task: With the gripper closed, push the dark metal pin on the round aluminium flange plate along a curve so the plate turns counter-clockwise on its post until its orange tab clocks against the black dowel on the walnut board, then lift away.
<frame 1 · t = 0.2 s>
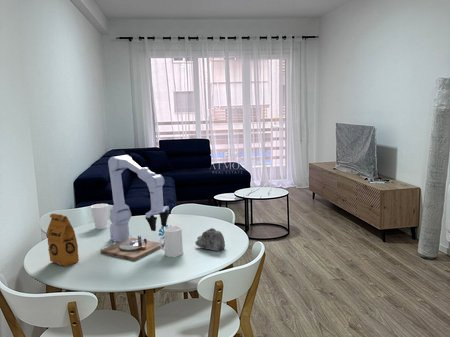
hand: (158, 228, 187), 10 cm above the table, tool pointing down, fingers open, 7 cm apart
base board: (132, 249, 188), on the table
coffee package: (65, 262, 176), on the table
flange: (133, 240, 187), point 5 cm above the table, hinge at 0.0°
mineral rock: (211, 248, 187), on the table
foam cup: (101, 227, 226), on the table
mug: (171, 255, 180), on the table
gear: (169, 241, 199), on the table
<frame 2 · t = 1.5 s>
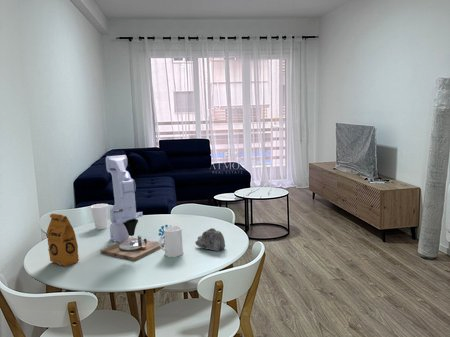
hand: (131, 235, 180), 9 cm above the table, tool pointing down, fingers closed
nothing on the table moved.
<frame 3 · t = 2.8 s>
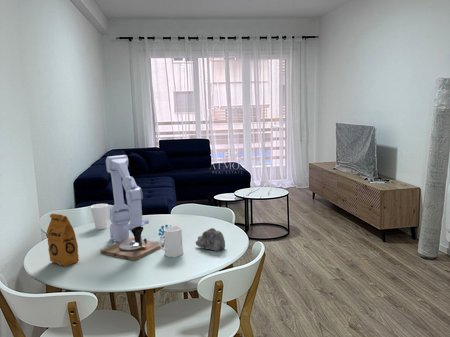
hand: (137, 242, 184), 5 cm above the table, tool pointing down, fingers closed, pressing on flange
flange: (133, 240, 187), point 5 cm above the table, hinge at 2.0°, touching gripper
everything else where it was.
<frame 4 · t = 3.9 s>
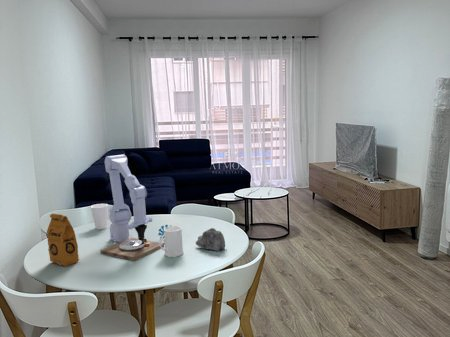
hand: (141, 239, 187), 5 cm above the table, tool pointing down, fingers closed, pressing on flange
flange: (134, 240, 188), point 5 cm above the table, hinge at 37.5°, touching gripper
everything else where it was.
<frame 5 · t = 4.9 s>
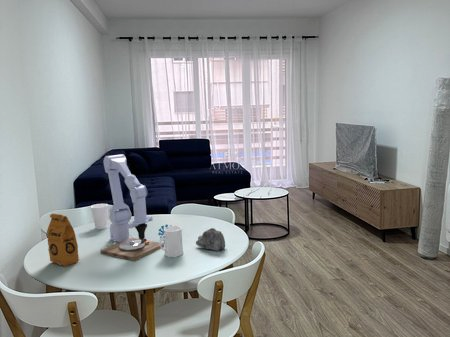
hand: (141, 238, 188), 5 cm above the table, tool pointing down, fingers closed, pressing on flange
flange: (134, 240, 188), point 5 cm above the table, hinge at 57.2°, touching gripper
everything else where it was.
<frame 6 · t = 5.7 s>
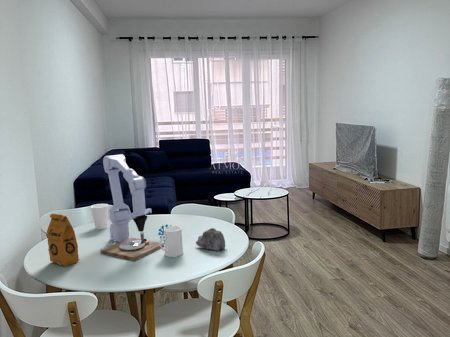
hand: (140, 231, 186), 9 cm above the table, tool pointing down, fingers closed
flange: (134, 240, 188), point 5 cm above the table, hinge at 56.6°
everything else where it was.
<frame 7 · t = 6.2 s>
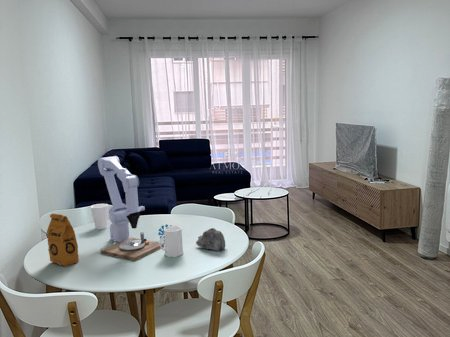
hand: (134, 228, 191), 9 cm above the table, tool pointing down, fingers closed
nothing on the table moved.
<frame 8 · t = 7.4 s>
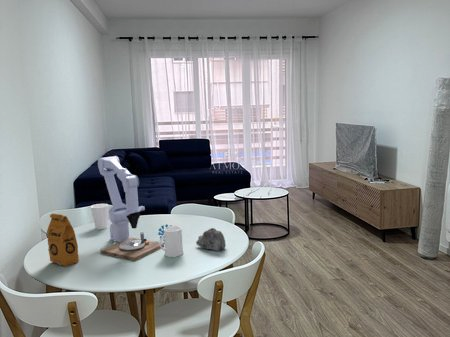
hand: (134, 227, 191), 9 cm above the table, tool pointing down, fingers closed
nothing on the table moved.
at the end: flange at +57° (first picture: +0°); the gripper is holding nothing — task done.
